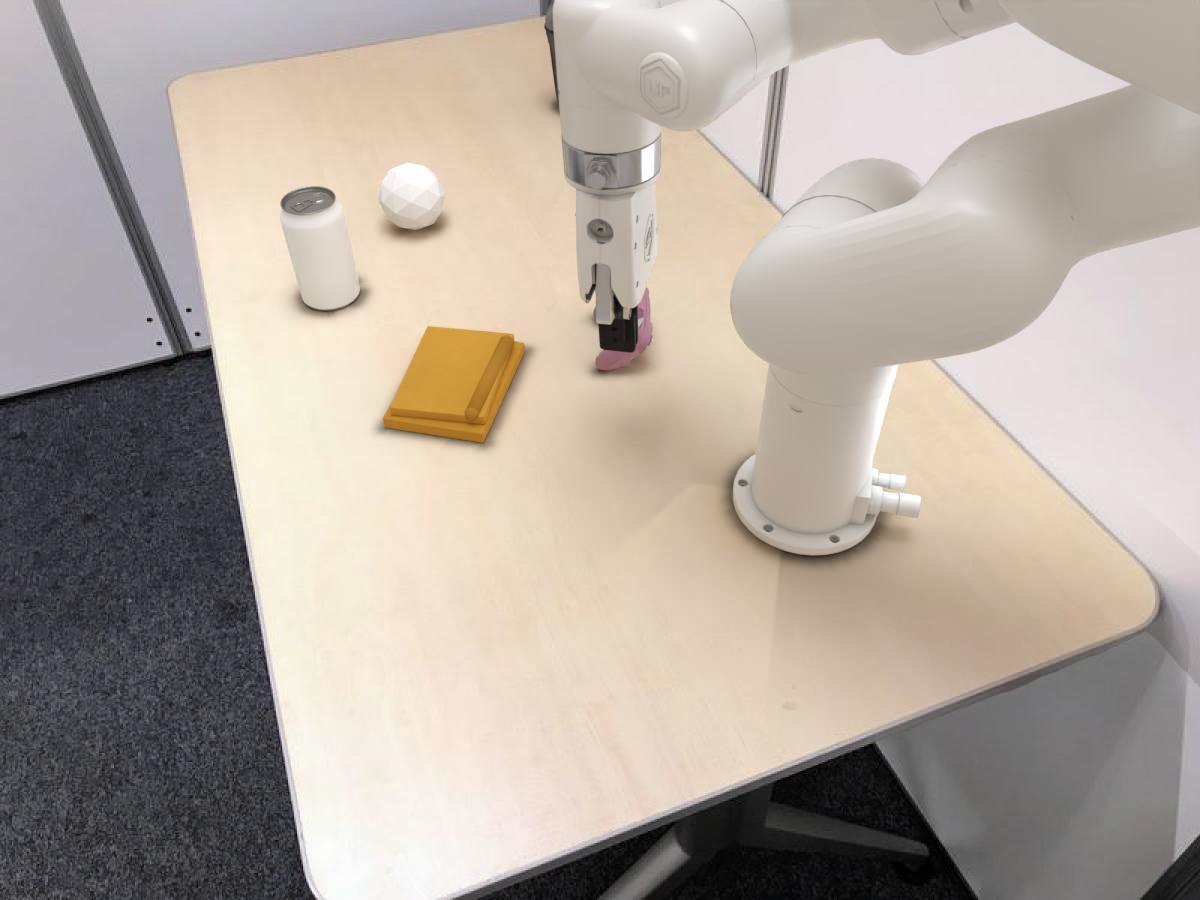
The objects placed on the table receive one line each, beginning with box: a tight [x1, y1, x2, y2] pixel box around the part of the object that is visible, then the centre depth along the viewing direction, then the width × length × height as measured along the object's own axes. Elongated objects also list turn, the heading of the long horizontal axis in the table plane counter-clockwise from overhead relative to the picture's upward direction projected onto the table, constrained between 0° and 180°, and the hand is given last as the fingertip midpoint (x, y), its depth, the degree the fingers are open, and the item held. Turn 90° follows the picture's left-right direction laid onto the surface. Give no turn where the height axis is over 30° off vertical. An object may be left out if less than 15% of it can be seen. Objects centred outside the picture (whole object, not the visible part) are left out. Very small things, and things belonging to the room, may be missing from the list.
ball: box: [377, 162, 446, 231], centre depth 116 cm, size 8×8×8 cm
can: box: [279, 185, 361, 312], centre depth 104 cm, size 6×6×12 cm
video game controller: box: [592, 287, 654, 371], centre depth 100 cm, size 10×5×7 cm, turn 2°
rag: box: [382, 325, 526, 444], centre depth 96 cm, size 10×14×3 cm
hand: (619, 345), depth 86 cm, fingers closed
